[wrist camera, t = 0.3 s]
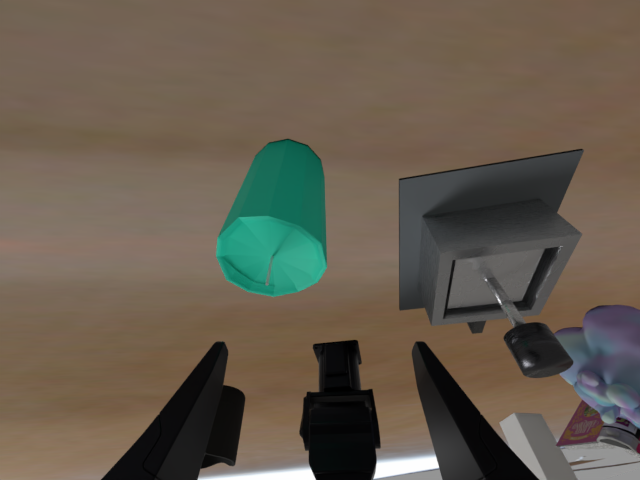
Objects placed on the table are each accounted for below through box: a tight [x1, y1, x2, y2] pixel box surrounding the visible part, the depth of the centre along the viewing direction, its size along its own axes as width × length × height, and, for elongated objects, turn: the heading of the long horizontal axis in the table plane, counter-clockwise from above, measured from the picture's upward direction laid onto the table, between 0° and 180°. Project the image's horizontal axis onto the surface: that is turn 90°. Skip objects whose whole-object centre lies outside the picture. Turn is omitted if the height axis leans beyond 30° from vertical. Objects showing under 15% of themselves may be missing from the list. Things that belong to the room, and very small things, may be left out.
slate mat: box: [399, 149, 584, 311], centre depth 28 cm, size 18×14×1 cm
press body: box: [418, 199, 582, 334], centre depth 26 cm, size 13×10×5 cm
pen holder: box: [201, 385, 245, 469], centre depth 46 cm, size 9×9×10 cm
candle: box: [216, 139, 327, 297], centre depth 18 cm, size 6×6×12 cm
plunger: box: [445, 248, 573, 378], centre depth 21 cm, size 7×7×8 cm
